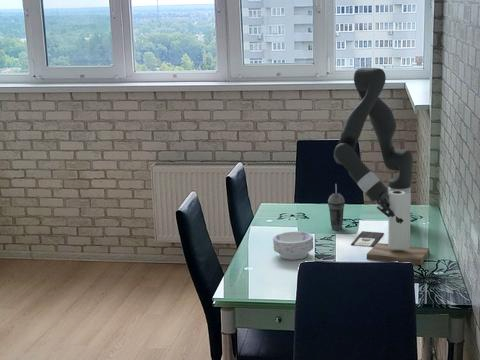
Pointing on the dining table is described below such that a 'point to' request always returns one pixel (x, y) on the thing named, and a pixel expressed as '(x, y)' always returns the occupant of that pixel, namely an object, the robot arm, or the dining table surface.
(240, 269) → the dining table surface
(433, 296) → the dining table surface
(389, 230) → the paper towel roll
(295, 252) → the grey marble bowl
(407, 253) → the walnut board
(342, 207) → the beverage cup
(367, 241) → the chocolate bar
